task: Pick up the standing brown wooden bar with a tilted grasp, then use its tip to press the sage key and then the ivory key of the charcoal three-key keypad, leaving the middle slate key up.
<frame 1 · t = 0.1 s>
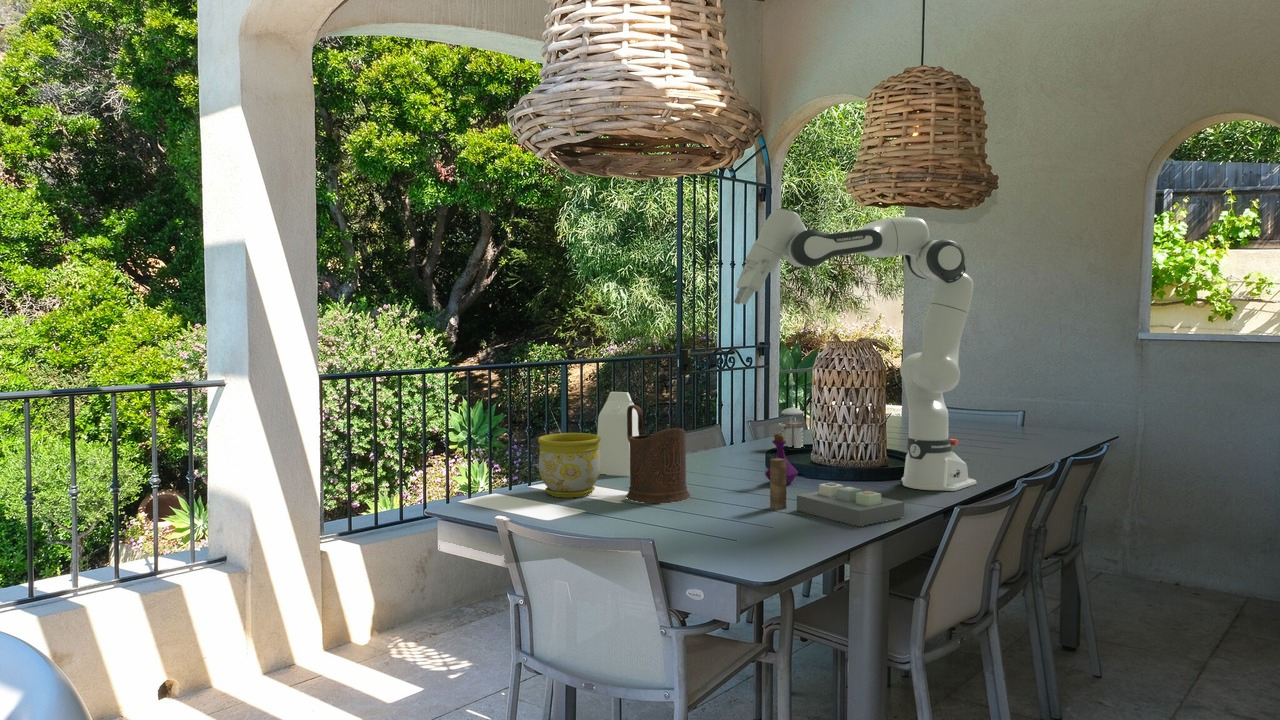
hand: (739, 303, 262), 54 cm above the table, fingers open, 8 cm apart
brown wooden bar: (778, 507, 245), on the table
milk: (620, 472, 298), on the table
key mid: (849, 495, 237), point 5 cm above the table, slide at 0.0 cm
key 1: (831, 491, 242), point 5 cm above the table, slide at 0.0 cm
perfume bottle: (781, 484, 276), on the table
cup holder: (652, 495, 262), on the table
keypad: (849, 513, 237), on the table
flowerpot: (570, 494, 266), on the table
french press: (792, 450, 337), on the table
key 2: (868, 499, 231), point 5 cm above the table, slide at 0.0 cm
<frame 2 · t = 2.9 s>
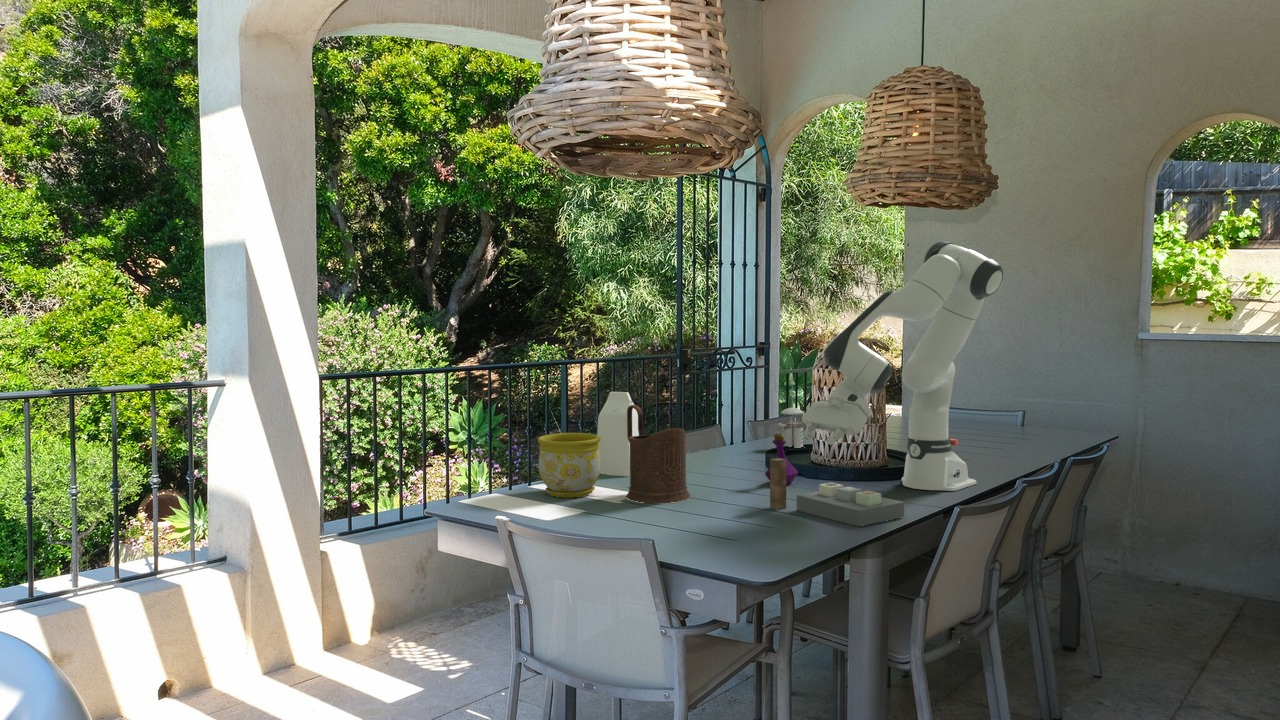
hand: (817, 440, 249), 17 cm above the table, fingers open, 8 cm apart
nothing on the table moved.
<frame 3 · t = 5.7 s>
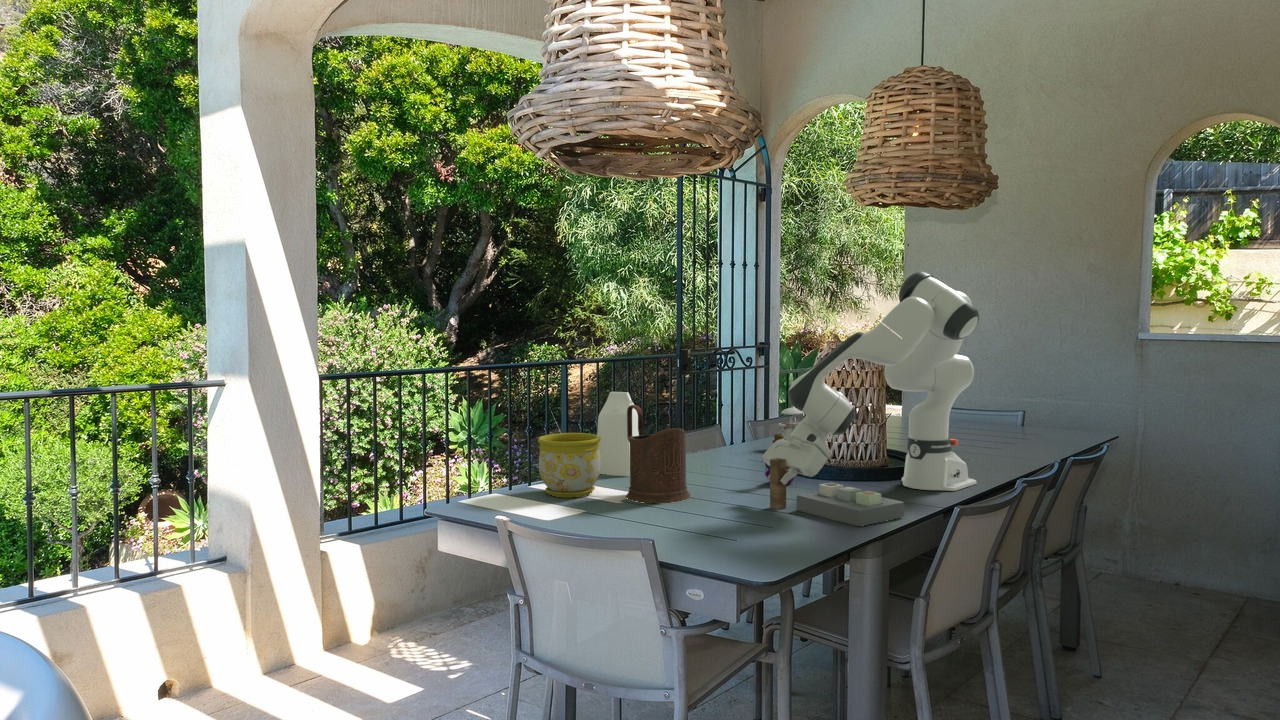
hand: (776, 481, 244), 7 cm above the table, fingers closed on brown wooden bar, 3 cm apart
brown wooden bar: (778, 507, 245), on the table, touching gripper
everything else where it was.
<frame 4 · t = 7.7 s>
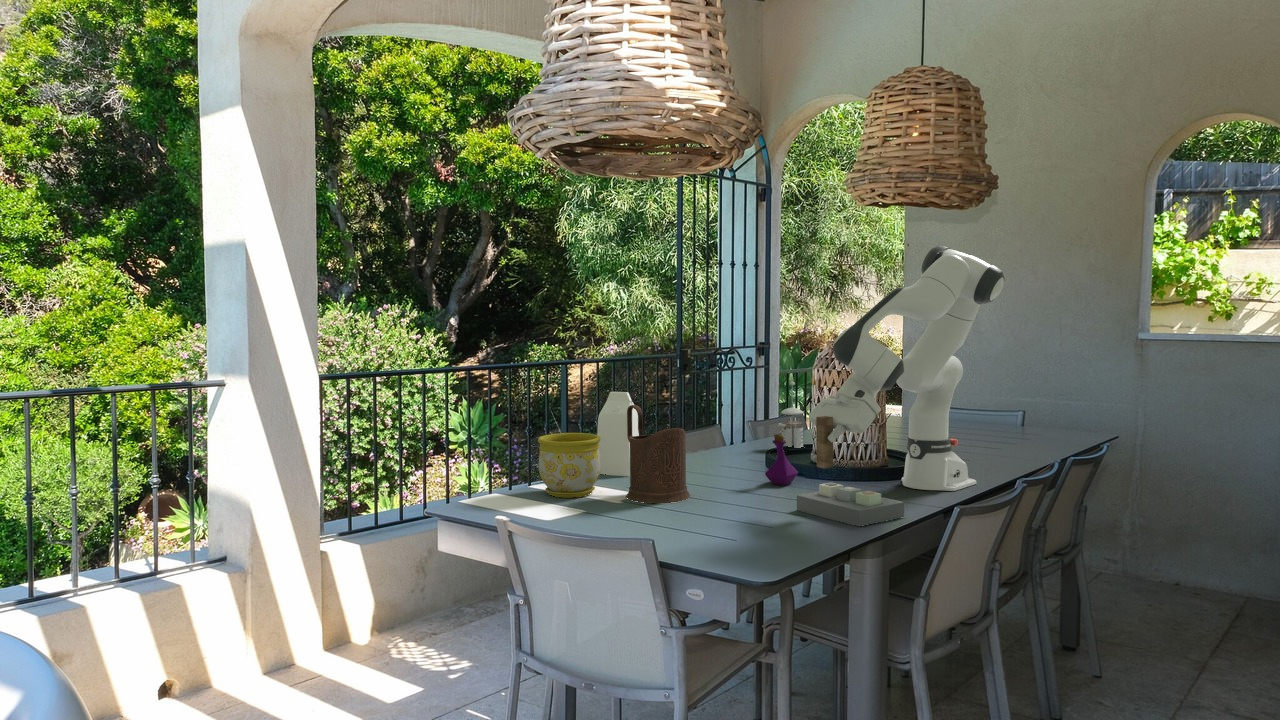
hand: (823, 439, 237), 19 cm above the table, fingers closed on brown wooden bar, 3 cm apart
brown wooden bar: (825, 467, 237), point 12 cm above the table, touching gripper
everything else where it was.
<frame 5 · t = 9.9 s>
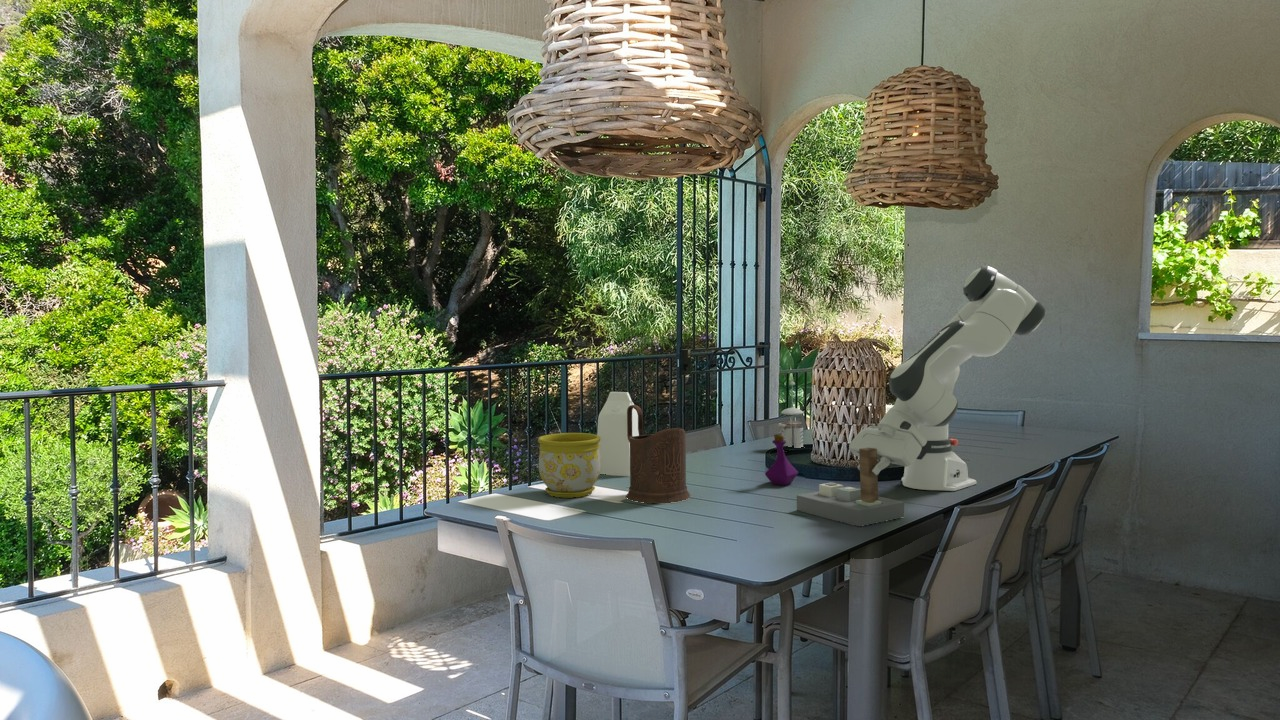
hand: (866, 471, 230), 12 cm above the table, fingers closed on brown wooden bar, 3 cm apart
brown wooden bar: (869, 500, 231), point 5 cm above the table, touching gripper, key 2
key 2: (868, 507, 231), point 3 cm above the table, slide at 1.9 cm, touching brown wooden bar
everything else where it was.
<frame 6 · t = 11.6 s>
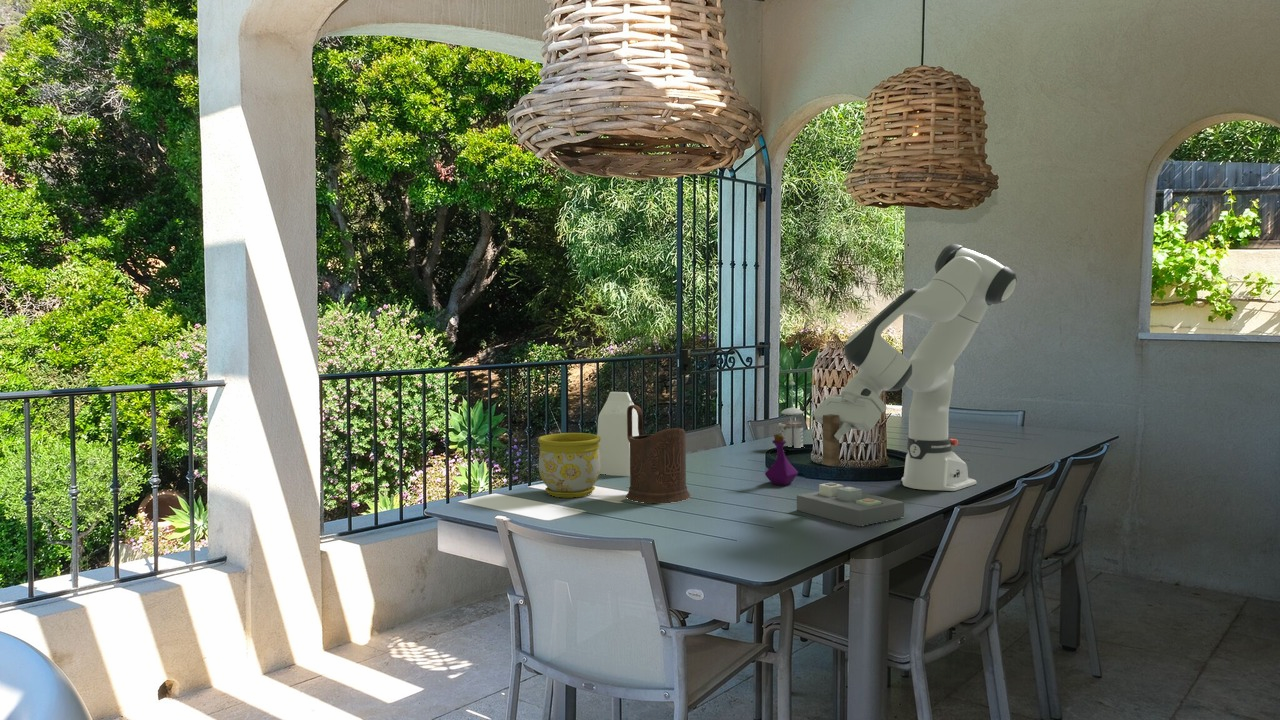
hand: (829, 436, 241), 19 cm above the table, fingers closed on brown wooden bar, 3 cm apart
brown wooden bar: (831, 464, 242), point 12 cm above the table, touching gripper
key 2: (868, 507, 231), point 3 cm above the table, slide at 1.9 cm
everything else where it was.
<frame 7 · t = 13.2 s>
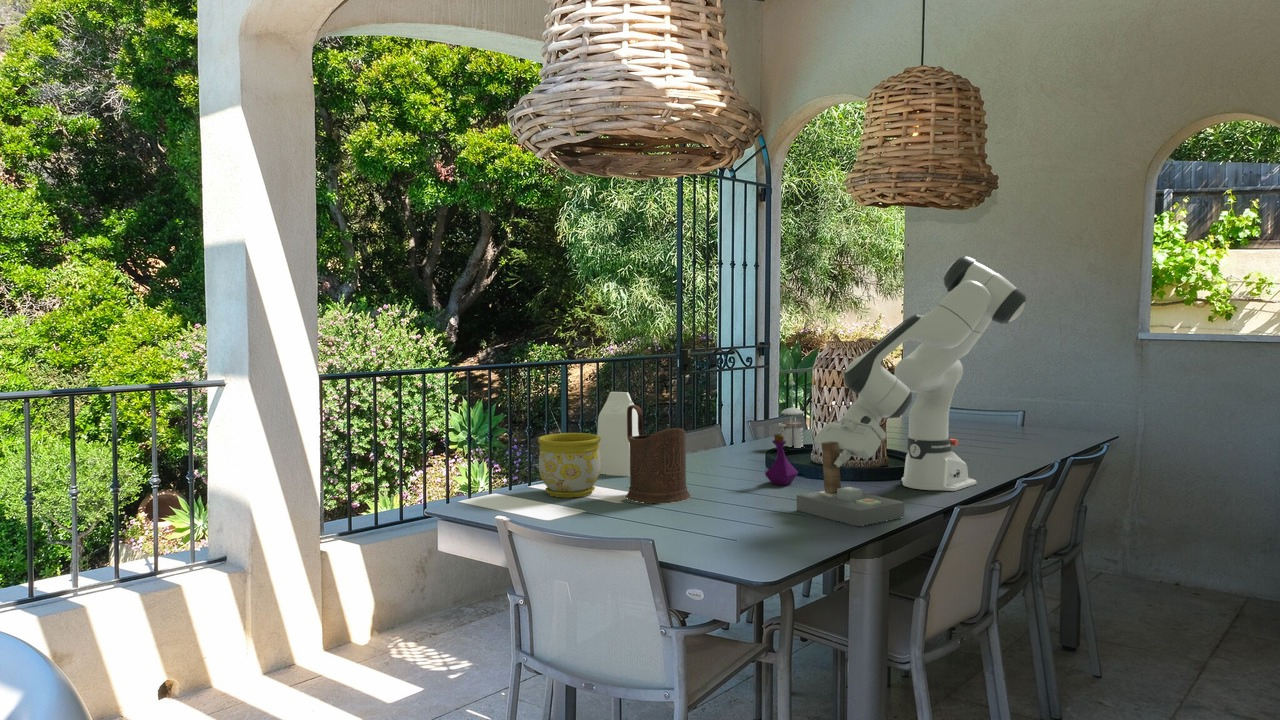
hand: (829, 464, 241), 12 cm above the table, fingers closed on brown wooden bar, 3 cm apart
brown wooden bar: (832, 491, 241), point 5 cm above the table, touching gripper, key 1
key 1: (831, 498, 242), point 3 cm above the table, slide at 2.0 cm, touching brown wooden bar
everything else where it was.
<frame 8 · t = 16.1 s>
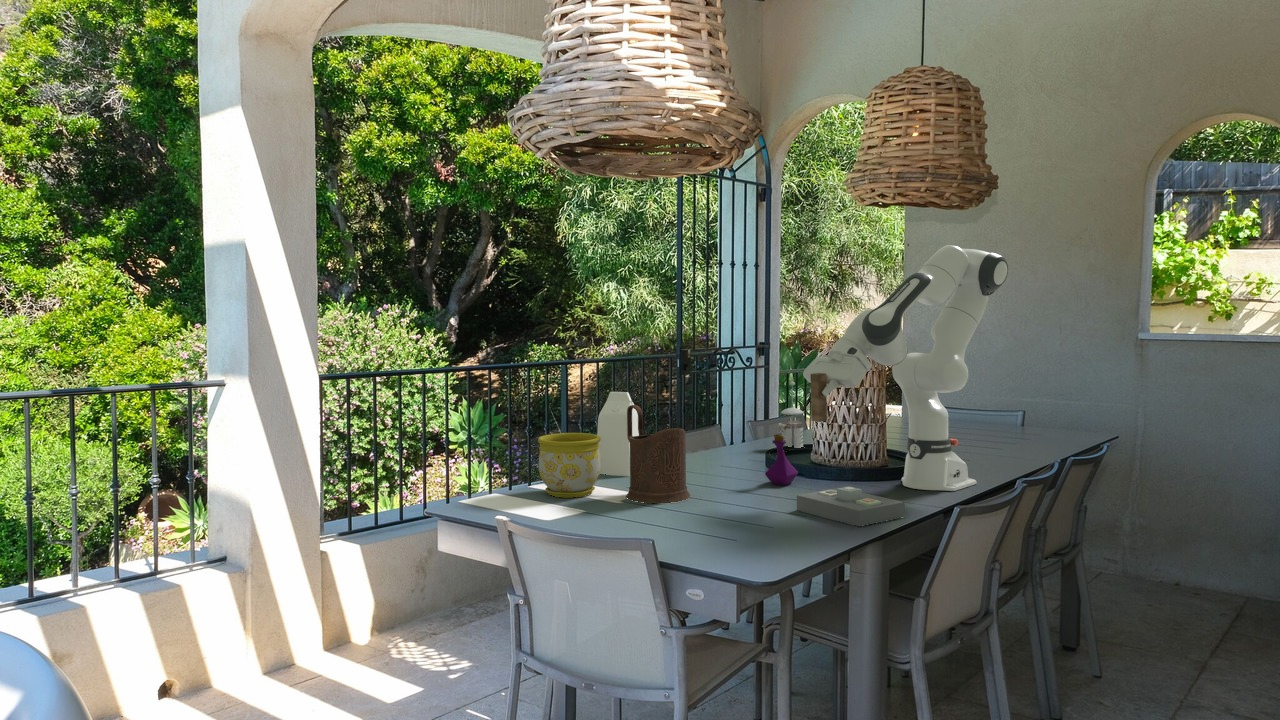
hand: (817, 393, 252), 29 cm above the table, fingers closed on brown wooden bar, 3 cm apart
brown wooden bar: (819, 420, 253), point 22 cm above the table, touching gripper
key 1: (831, 498, 242), point 3 cm above the table, slide at 2.0 cm
everything else where it was.
at the end: key 2 slide at 1.9 cm; key 1 slide at 2.0 cm; key mid slide at 0.0 cm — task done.
